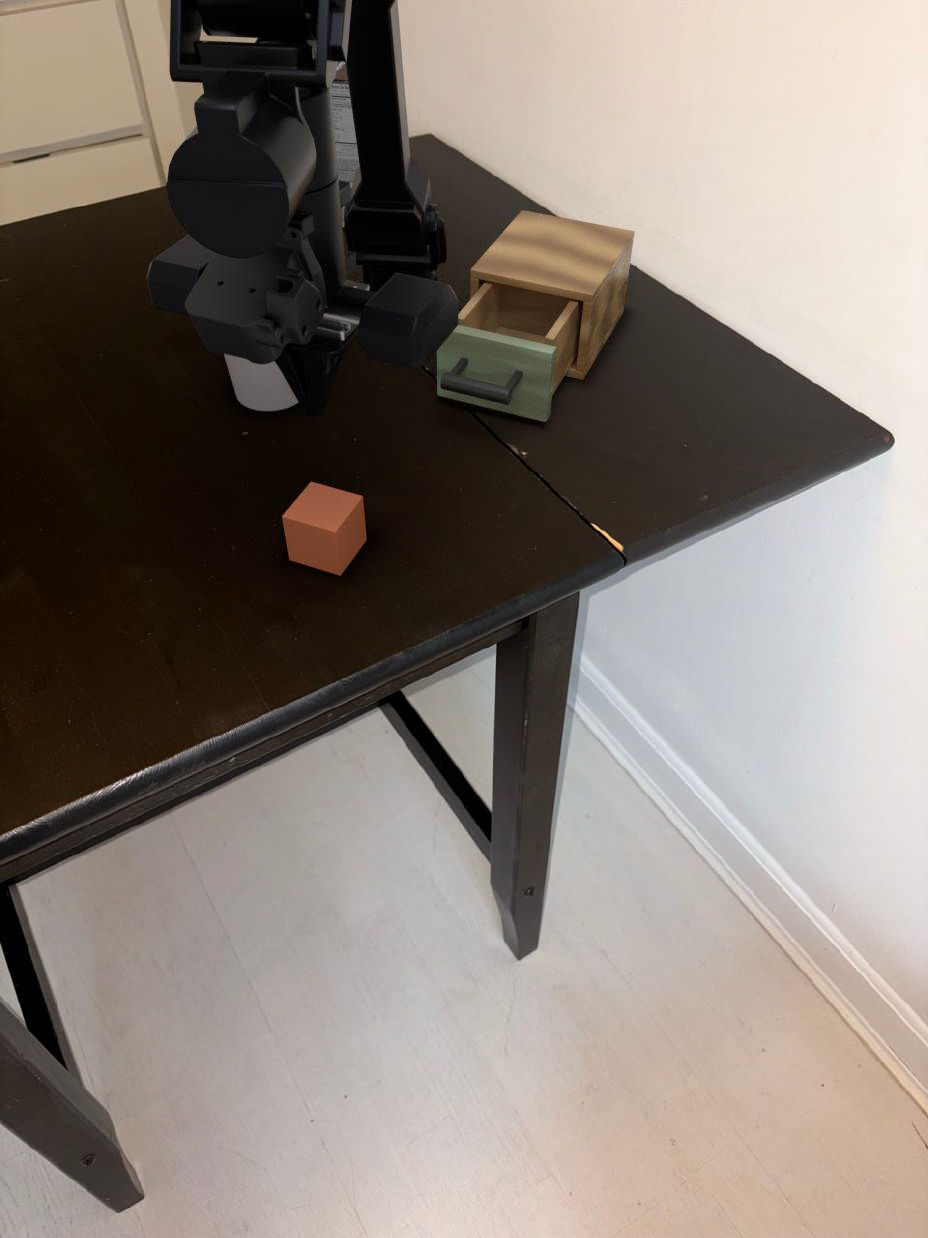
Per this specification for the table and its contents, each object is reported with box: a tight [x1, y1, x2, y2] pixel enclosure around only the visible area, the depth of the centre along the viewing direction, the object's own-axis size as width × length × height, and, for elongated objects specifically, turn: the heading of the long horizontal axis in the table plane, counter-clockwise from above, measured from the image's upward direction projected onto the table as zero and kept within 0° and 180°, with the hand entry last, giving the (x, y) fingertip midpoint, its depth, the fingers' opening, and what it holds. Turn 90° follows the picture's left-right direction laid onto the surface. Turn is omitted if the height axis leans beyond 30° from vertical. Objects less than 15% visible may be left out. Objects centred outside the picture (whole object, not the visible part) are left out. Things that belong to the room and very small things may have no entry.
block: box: [281, 481, 368, 577], centre depth 71 cm, size 4×4×4 cm
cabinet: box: [469, 209, 635, 381], centre depth 92 cm, size 14×12×9 cm
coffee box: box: [331, 62, 360, 228], centre depth 108 cm, size 9×6×16 cm
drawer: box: [436, 281, 584, 423], centre depth 85 cm, size 17×10×7 cm, turn 157°
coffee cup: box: [223, 354, 299, 412], centre depth 82 cm, size 10×10×15 cm
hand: (315, 414), depth 64 cm, fingers closed
